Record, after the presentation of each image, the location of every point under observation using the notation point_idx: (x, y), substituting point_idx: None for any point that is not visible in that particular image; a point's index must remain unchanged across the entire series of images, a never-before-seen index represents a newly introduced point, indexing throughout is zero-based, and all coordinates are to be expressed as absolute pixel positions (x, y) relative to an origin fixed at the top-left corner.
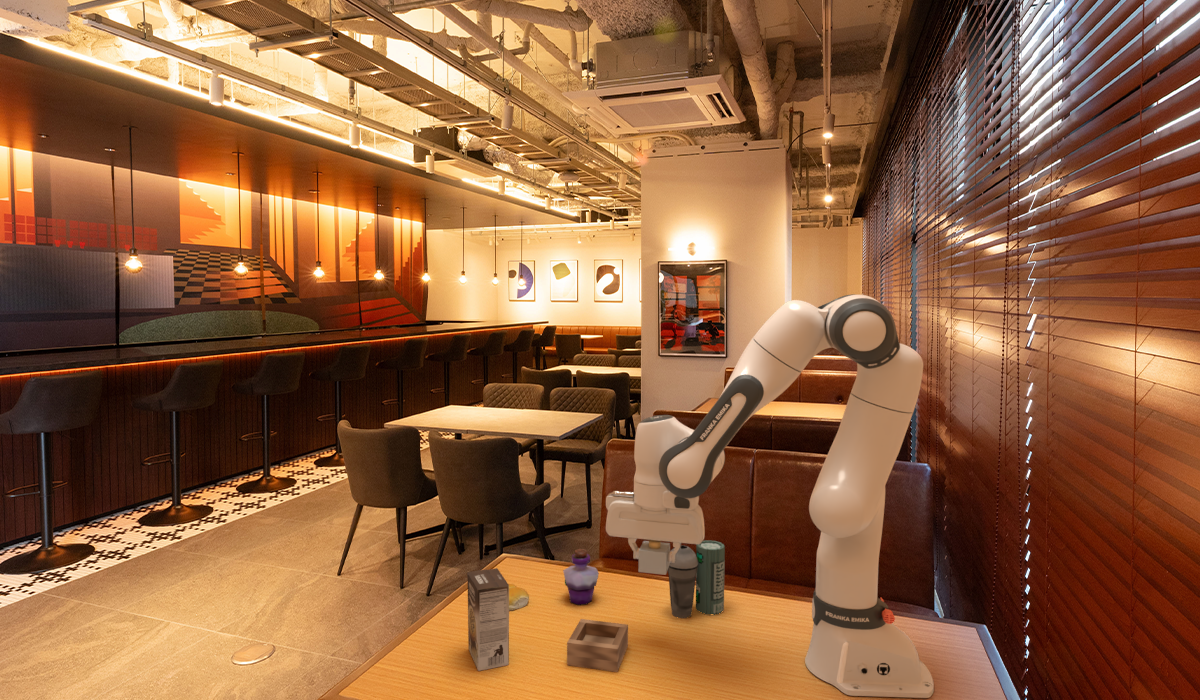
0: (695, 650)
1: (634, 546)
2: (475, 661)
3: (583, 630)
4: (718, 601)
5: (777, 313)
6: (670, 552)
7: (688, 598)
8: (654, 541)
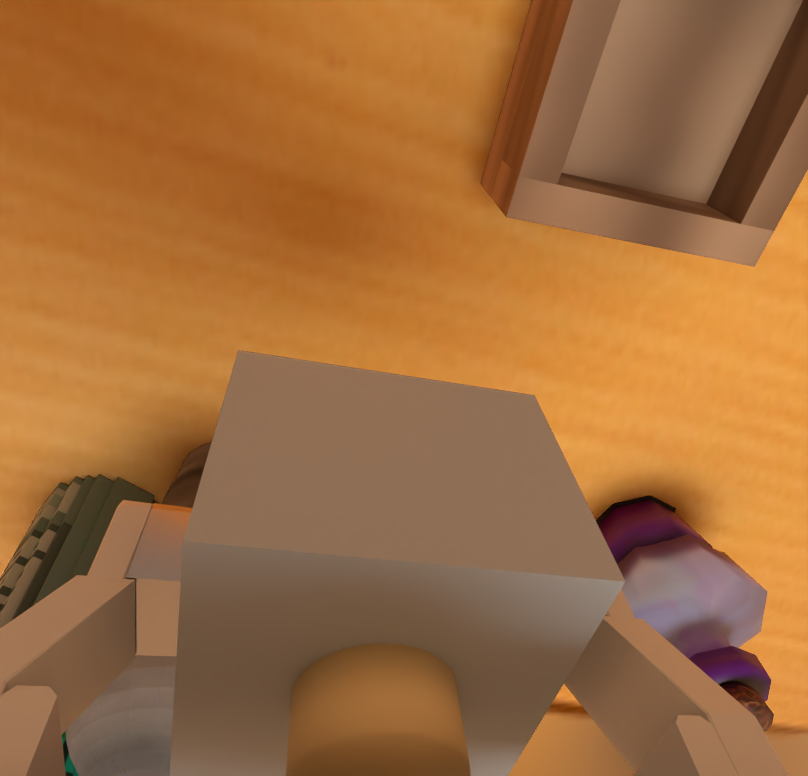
0: (129, 157)
1: (641, 674)
2: None
3: (750, 173)
4: (36, 525)
5: None
6: (158, 633)
7: (172, 504)
8: (383, 772)
